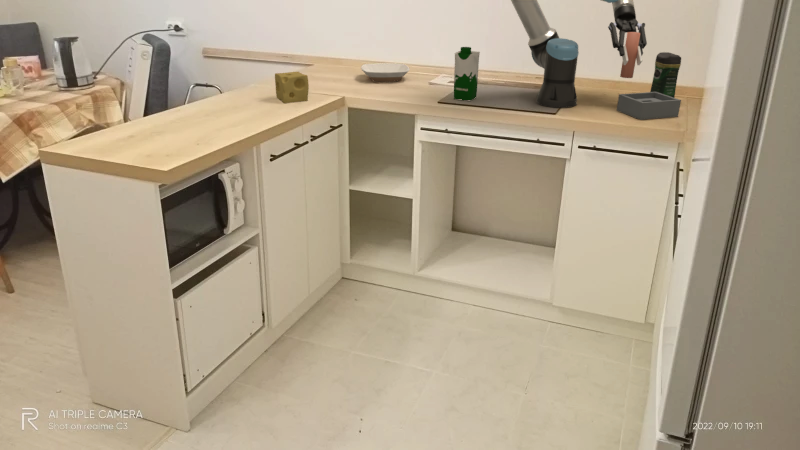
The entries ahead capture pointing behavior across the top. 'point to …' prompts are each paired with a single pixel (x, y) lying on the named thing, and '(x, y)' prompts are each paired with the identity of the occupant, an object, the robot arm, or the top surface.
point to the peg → (630, 54)
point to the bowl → (385, 71)
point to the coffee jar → (666, 73)
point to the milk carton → (466, 74)
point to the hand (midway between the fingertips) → (632, 62)
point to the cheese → (291, 87)
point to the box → (648, 105)
